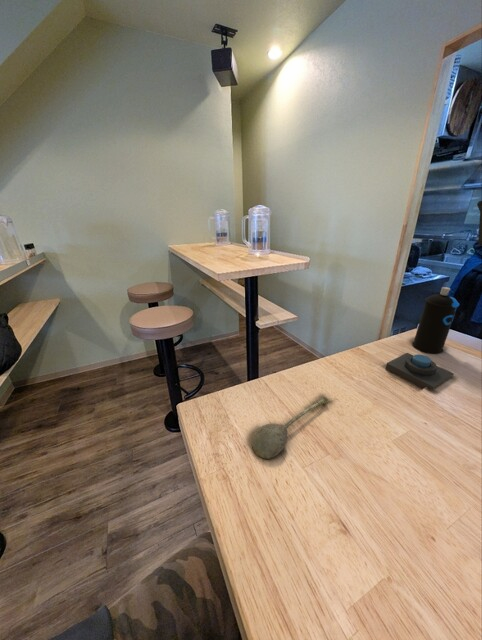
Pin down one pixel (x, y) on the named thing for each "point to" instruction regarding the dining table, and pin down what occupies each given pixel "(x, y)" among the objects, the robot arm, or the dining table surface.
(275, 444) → the soupspoon
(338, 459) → the dining table surface
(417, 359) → the push top
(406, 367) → the button housing
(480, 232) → the robot arm
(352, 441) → the dining table surface
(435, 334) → the aerosol can
